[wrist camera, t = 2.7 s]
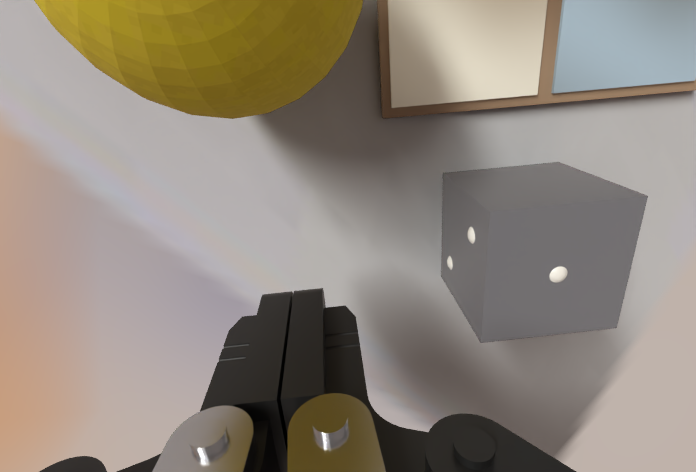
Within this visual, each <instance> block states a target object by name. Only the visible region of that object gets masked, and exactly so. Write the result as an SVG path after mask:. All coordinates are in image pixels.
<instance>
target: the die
mask: <svg viewBox="0 0 696 472" xmlns="http://www.w3.org/2000/svg"><path fill="white" fill-rule="evenodd" d="M647 198H648V196H647V195H644V194H641V193H639V192H636V191H634V190H631V189H628V188H626V187H623V186H620V185H618V184H615V183H612V182H610V181H607V180H604V179H602V178H599V177H597V176H594V175H591V174H589V173H586V172H583V171H581V170H578V169H575V168H573V167H570V166H568V165H565V164H562V163H560V162H554V163H544V164H533V165H523V166H512V167H502V168H491V169H481V170H470V171H460V172H449V173H443V204H442V259H441V277H442V279H443V280H444V282H445V284H446V285H447V287H448V289H449V290H450V292H451V294H452V295H453V297H454V299H455V300H456V302H457V304H458V305H459V307H460V309H461V310H462V312H463V314H464V315H465V317H466V319H467V321H468V322H469V324H470V326H471V327H472V329H473V331H474V332H475V334H476V336H477V337H478V339H479V341H480V342H481V343H484V342H493V341H502V340H511V339H520V338H530V337H539V336H548V335H557V334H566V333H575V332H584V331H593V330H602V329H611V328H617V324H618V320H619V315H620V311H621V307H622V303H623V299H624V294H625V290H626V286H627V282H628V278H629V273H630V269H631V265H632V261H633V257H634V252H635V248H636V244H637V240H638V236H639V231H640V227H641V223H642V219H643V215H644V210H645V206H646V202H647Z"/></svg>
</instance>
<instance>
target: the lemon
mask: <svg viewBox="0 0 696 472" xmlns="http://www.w3.org/2000/svg"><path fill="white" fill-rule="evenodd" d="M34 1H35V2H36V3H37V5H38V6H39V8H40V9H41V10H42V12H43V13H44V15H45V16H46V17H47V19H48V20H49V21H50V23H51V24H52V25H53V26H54V28H55V29H56V30H57V31H58V32H59V33H60V34H61V35H62V36H63V37H64V38H65V39H66V40H67V41H68V42H69V43H70V44H72V45H73V46H74V47H75V48H76V49H77V50H78V51H79V52H80V53H81V54H82V55H83V56H84V57H85V58H86V59H87V60H88V61H90V62H91V63H92V64H93V65H94V66H95V67H96V68H98V69H99V70H100V71H102V72H103V73H105V74H106V75H108V76H110V77H111V78H113V79H114V80H116V81H118V82H119V83H121V84H122V85H124V86H126V87H127V88H129V89H130V90H132V91H134V92H135V93H137V94H138V95H140V96H142V97H144V98H146V99H148V100H150V101H153V102H156V103H159V104H162V105H165V106H168V107H170V108H173V109H176V110H179V111H182V112H185V113H188V114H191V115H199V116H210V117H220V118H231V119H234V118H240V117H246V116H253V115H259V114H265V113H269V112H272V111H274V110H276V109H278V108H280V107H282V106H285V105H287V104H289V103H291V102H293V101H295V100H298V99H300V98H301V97H302V96H303V95H304V94H306V93H307V92H308V91H309V90H310V89H312V88H313V87H314V86H315V85H316V84H317V83H319V82H320V81H321V80H322V79H323V78H325V77H326V75H327V74H328V73H329V71H330V70H331V68H332V67H333V66H334V64H335V63H336V61H337V60H338V59H339V57H340V56H341V54H342V53H343V52H344V50H345V49H346V47H347V45H348V42H349V40H350V37H351V35H352V32H353V30H354V27H355V25H356V22H357V20H358V17H359V15H360V12H361V9H362V4H363V0H34Z"/></svg>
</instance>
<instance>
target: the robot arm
mask: <svg viewBox="0 0 696 472" xmlns="http://www.w3.org/2000/svg"><path fill="white" fill-rule="evenodd" d="M40 472H107V471H106V468H105V466H104V465H103V463H102V462H101V461H99V460H98V459H96V458H93V457H88V456H80V457H74V458H69V459H66V460H63V461H60V462H57V463H55V464H53V465H51V466H49V467H47V468H45V469H43V470H42V471H40ZM117 472H576V471H574V470H572V469H571V468H569V467H568V466H566V465H564V464H563V463H561V462H559V461H558V460H556V459H555V458H553V457H551V456H550V455H548V454H546V453H545V452H543V451H542V450H540V449H538V448H537V447H535V446H533V445H532V444H530V443H529V442H527V441H525V440H524V439H522V438H520V437H519V436H517V435H516V434H514V433H512V432H511V431H509V430H507V429H506V428H504V427H503V426H501V425H499V424H498V423H496V422H494V421H492V420H490V419H487V418H485V417H482V416H478V415H473V414H455V415H451V416H448V417H445V418H443V419H441V420H439V421H438V422H437V423H436V424H434V425H433V427H432V428H431V429H430V431H429V433H428V432H423V431H417V430H411V429H406V428H402V427H398V426H396V425H393V424H391V423H389V422H387V421H386V420H384V419H383V418H382V417H380V416H379V415H378V414H377V413H376V412H375V411H374V409H373V408H372V406H371V404H370V402H369V400H368V396H367V389H366V383H365V376H364V369H363V363H362V356H361V349H360V343H359V336H358V329H357V323H356V317H355V316H354V315H353V313H352V312H351V311H350V310H349V309H348V308H347V307H346V306H338V307H328V308H326V307H325V299H324V291H323V288H320V289H310V290H301V291H294V294H293V292H283V293H273V294H264V295H262V298H261V301H260V305H259V309H258V313H257V315H254V316H245V317H242V318H241V319H240V320H239V321H238V322H237V323H236V324H235V325H234V326H233V327H232V328H231V329H230V330H229V333H228V335H227V338H226V341H225V343H224V349H222V352H221V355H220V358H219V362H218V363H217V366H216V368H215V371H214V374H213V377H212V380H211V383H210V385H209V388H208V391H207V393H206V396H205V399H204V402H203V405H202V408H201V410H200V412H199V413H197V414H195V415H193V416H192V417H190V418H188V419H187V420H186V421H184V422H183V423H182V424H181V425H180V426H179V427H178V428H177V429H176V430H175V431H174V432H173V434H172V435H171V437H170V438H169V440H168V442H167V443H166V446H165V447H164V449H163V451H162V453H161V454H159V455H157V456H155V457H153V458H151V459H148V460H146V461H143V462H141V463H138V464H135V465H133V466H130V467H128V468H125V469H123V470H120V471H117Z"/></svg>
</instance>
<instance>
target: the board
mask: <svg viewBox="0 0 696 472" xmlns="http://www.w3.org/2000/svg"><path fill="white" fill-rule="evenodd" d="M377 11H378V34H379V57H380V81H381V104H382V118H394V117H405V116H416V115H427V114H438V113H449V112H460V111H471V110H482V109H493V108H504V107H515V106H526V105H537V104H548V103H559V102H570V101H581V100H592V99H603V98H614V97H625V96H636V95H647V94H658V93H669V92H680V91H691V90H696V0H377Z"/></svg>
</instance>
